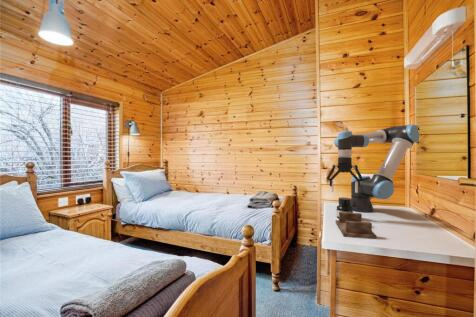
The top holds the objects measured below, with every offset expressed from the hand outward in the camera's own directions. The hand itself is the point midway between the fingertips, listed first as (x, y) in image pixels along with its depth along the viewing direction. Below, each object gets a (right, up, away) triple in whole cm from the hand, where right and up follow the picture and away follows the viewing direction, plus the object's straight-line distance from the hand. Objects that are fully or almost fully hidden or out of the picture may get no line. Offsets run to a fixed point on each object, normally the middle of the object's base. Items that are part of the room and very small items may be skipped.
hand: (344, 192), depth 141 cm
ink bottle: (0, -16, +1) cm, 16 cm away
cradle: (-5, -17, -21) cm, 27 cm away
